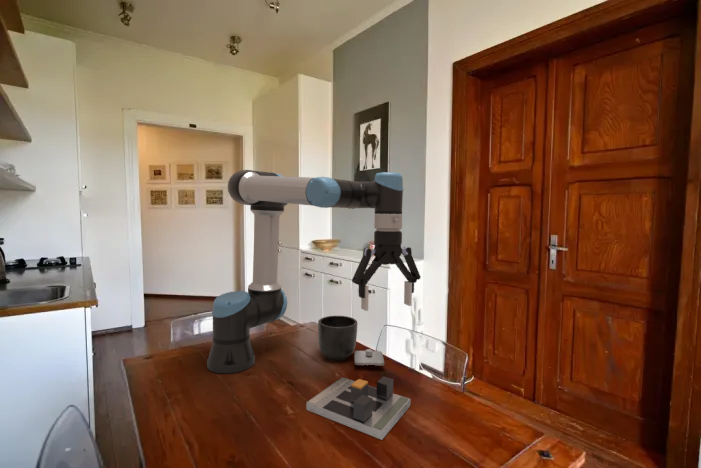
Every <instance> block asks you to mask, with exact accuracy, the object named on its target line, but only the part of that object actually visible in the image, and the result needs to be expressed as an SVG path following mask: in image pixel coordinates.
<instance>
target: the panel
mask: <svg viewBox="0 0 701 468" xmlns="http://www.w3.org/2000/svg"><path fill="white" fill-rule="evenodd" d="M355 381H356V380H353V379H349V378H346V377H343V376H341V378H340V377H339V379H337V380H335V382H333V383H332V384H331V385H329V386H327V387H326V388H325V389H323V390H322V391H320V392H319V393H317V394H316V395H315V396H313V397H312V398H310V399H309V400H308V401H306V402H305V403H306V405H305V406H306V409H305V410H306V411H308V412H311V413H314V414H315V415H316V414H317V415H319V416H321V417H323V418H326V419H328V420H330V421H333V422H336V423H338V424H340V425H344V426H346V427H347V428H348V427H349V428H351V429H353V430H355V431H359V432H361V433H363V434H366V435H368V436H371V437H374V438H375V439H378V440H381V441H382V440H384V438H386V436H387V435H388V433H389V432H391V430H392V429H393V427H394V426H395V425H396V424H397V423H398V421H399V420H400V419H401V418H402V417H403V416H404V414H405V413H406V412H407V411H408V410H409V409H410V407H411V400H412V399H411V398H409V397H406V396H403V395H399V394H397V393H396V394H395V393H394V378H390V377H387V376H382V377H381V378H380V379H379V380H377V381H376V387H375V386H371V385H368V397H367V396H364V395H361V396H360V397H359V398H358V399H357V400H355V401H354V402H351V385H352V384H353V383H354V382H355Z"/></svg>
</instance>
